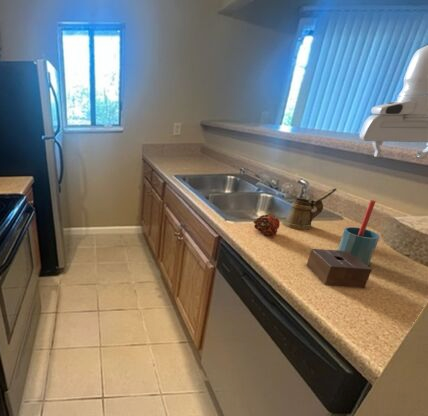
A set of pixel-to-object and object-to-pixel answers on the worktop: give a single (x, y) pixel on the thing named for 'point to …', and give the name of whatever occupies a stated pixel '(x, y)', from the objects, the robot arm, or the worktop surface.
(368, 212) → the straw
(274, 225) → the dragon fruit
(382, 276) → the worktop surface
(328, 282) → the block
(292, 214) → the wooden mug
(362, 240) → the cup
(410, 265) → the worktop surface
